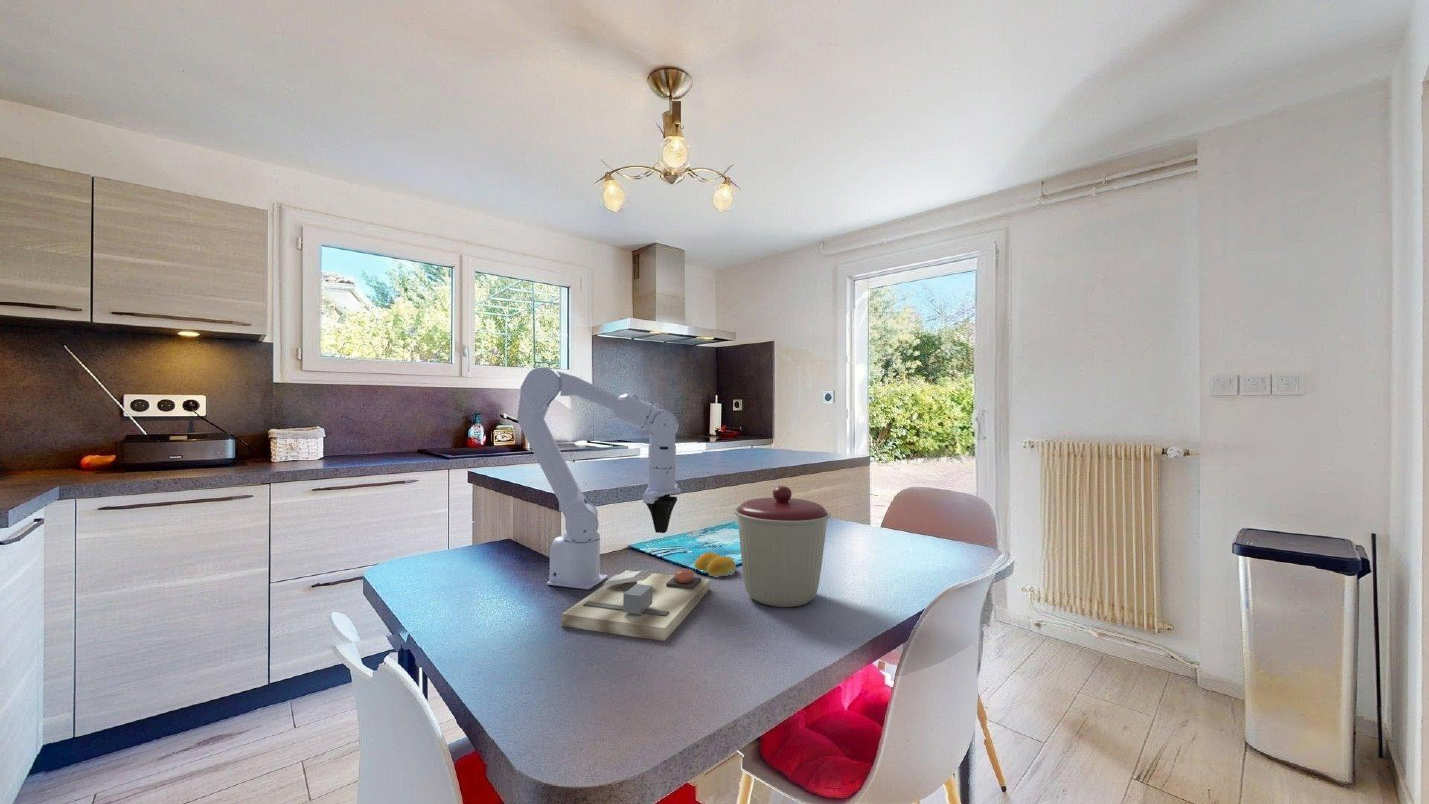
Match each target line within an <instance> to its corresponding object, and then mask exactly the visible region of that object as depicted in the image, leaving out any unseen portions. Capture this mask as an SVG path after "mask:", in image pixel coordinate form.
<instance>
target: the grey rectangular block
mask: <svg viewBox="0 0 1429 804" xmlns="http://www.w3.org/2000/svg"><path fill="white" fill-rule="evenodd" d="M652 597H653V586H650V585H642V584H636V585H634V586H633V587H632V588H630V589H629V590H628V591H626V592H625V593H624V594H623V612H625V613H632V614H641V613H643V612H644V611H645V610H646V609H647V608H648V607H649V606H650V605H651V604H652Z"/></svg>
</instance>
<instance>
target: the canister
mask: <svg viewBox="0 0 1429 804" xmlns="http://www.w3.org/2000/svg"><path fill="white" fill-rule="evenodd" d="M792 496H793V495H792V490H791V489H790V487H789V486H784V485H778V486H776V487H774V489H773V491H772V497H762V498H760V497H759V498H754V499H749V500H747V501H744V502H742V503H741V504H740V505H738V506H736V507H735V508H734V509H733V512H734V514H735V516H737V523H738V524H737V526H738V535H739V544H740V545H739V548H740V558H741V567H742V574H743V575H742V576H743V583H744V587H745V590H746V592H747V594H748V595H749V597H750V598H751V599H753V600H754V601H756V602H758V603H760V604H762V605H766V606H771V607H776V608H794V607H799V606H803V605H805V604H808V603H810V602H811V601H812V600H813V599H814V598H815V597H816V595H817V591H818V589H819V585H820V579H821V571H822V566H823V565H822V564H823V557H824V550H825V542H826V540H825V539H826V535H827V523H828V520H829V519H830V518H831V516H832V513H831V512H830V510H829V509H827V508H825V507H823V505H821V504H820V503H817V502H814V501H811V500H807V499H800V498H794V497H793V498H792Z"/></svg>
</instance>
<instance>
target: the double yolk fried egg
mask: <svg viewBox="0 0 1429 804" xmlns="http://www.w3.org/2000/svg"><path fill="white" fill-rule="evenodd" d="M694 565H695V566H694V569H695V568H697V569H699V570H703V571H707V572H708V574H709V575H711V576H727V575H731V574H733V575H734V574H735V573H736V569H737V565H736V562H735V561H734V560H733V559H732V557H729V556H728V557H727V556H721V555H719V554H717V553H716V552H712V551H711V552H709V551H708V552H705V553H703V554H701V555H700V556H699V557H697V559H696V560H695V561H694ZM731 576H732V575H731ZM727 577H728V576H727Z"/></svg>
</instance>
